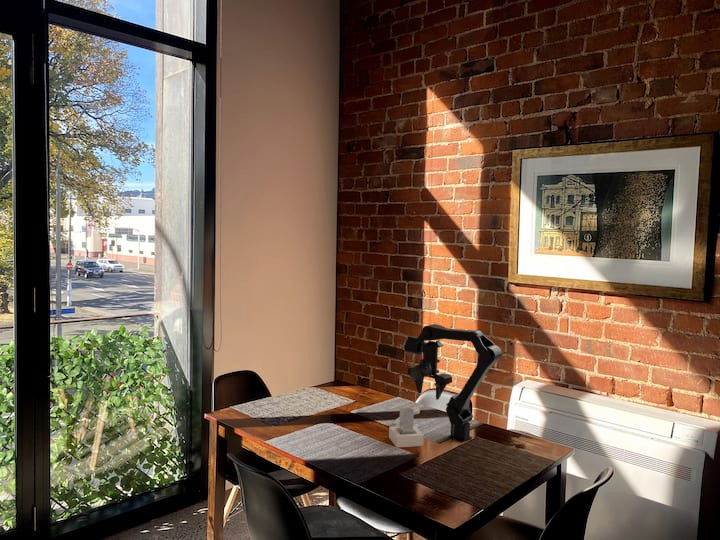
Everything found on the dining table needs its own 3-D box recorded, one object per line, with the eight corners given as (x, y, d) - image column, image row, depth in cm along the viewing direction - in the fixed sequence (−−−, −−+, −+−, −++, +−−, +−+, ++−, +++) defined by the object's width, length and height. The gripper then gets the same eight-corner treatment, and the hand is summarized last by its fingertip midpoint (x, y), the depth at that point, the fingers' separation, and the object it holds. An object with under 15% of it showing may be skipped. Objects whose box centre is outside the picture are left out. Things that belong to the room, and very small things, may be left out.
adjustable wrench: (394, 430, 227) (395, 425, 227) (380, 426, 230) (380, 422, 230) (421, 412, 248) (421, 408, 248) (407, 409, 252) (408, 405, 251)
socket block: (414, 435, 220) (414, 425, 220) (423, 445, 210) (423, 435, 210) (388, 437, 218) (389, 426, 217) (396, 447, 208) (397, 436, 208)
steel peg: (409, 439, 216) (410, 407, 215) (412, 443, 212) (413, 411, 211) (398, 439, 215) (400, 408, 214) (402, 443, 211) (403, 411, 210)
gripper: (398, 354, 227) (396, 394, 228) (434, 364, 213) (432, 406, 214) (417, 351, 234) (416, 389, 235) (454, 360, 220) (452, 401, 221)
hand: (428, 396), depth 226 cm, fingers open, 9 cm apart
